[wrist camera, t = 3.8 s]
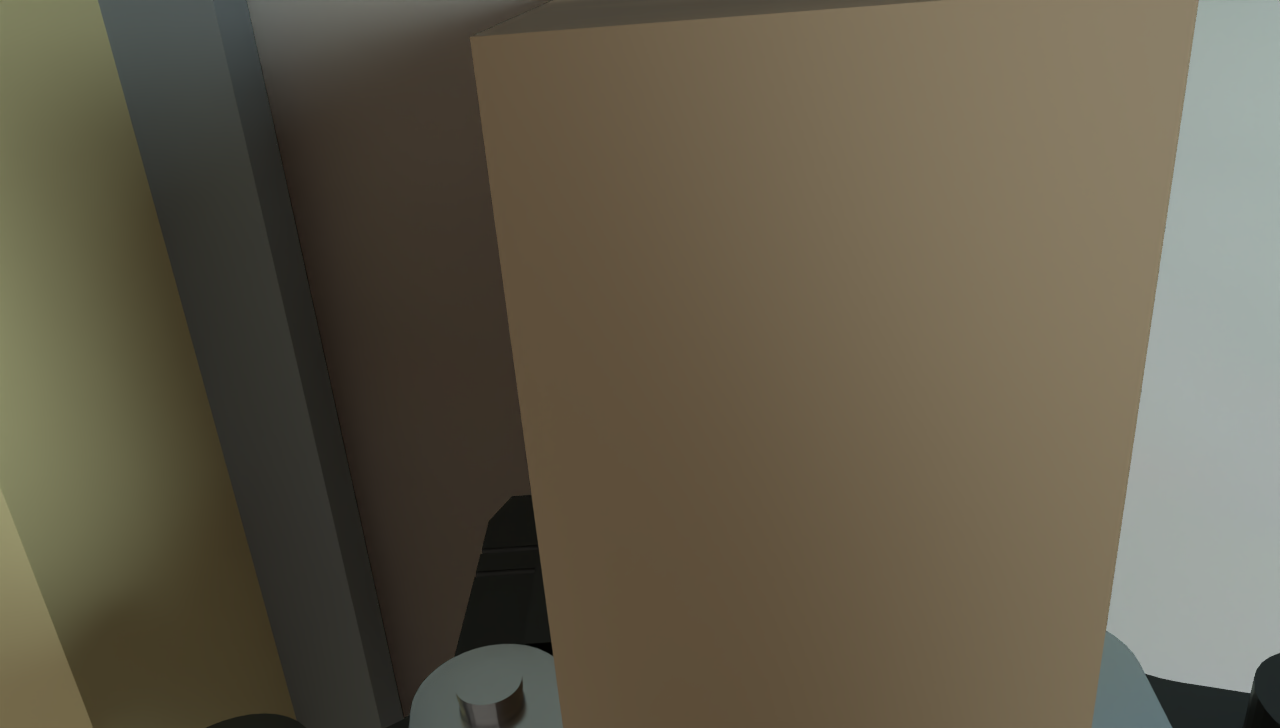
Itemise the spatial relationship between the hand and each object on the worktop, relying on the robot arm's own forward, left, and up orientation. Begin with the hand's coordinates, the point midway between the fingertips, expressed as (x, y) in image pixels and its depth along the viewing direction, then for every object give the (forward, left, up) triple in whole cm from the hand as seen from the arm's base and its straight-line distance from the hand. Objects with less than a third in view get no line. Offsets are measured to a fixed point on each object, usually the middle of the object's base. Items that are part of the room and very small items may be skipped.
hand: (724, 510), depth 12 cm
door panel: (0, 0, -3) cm, 3 cm away
